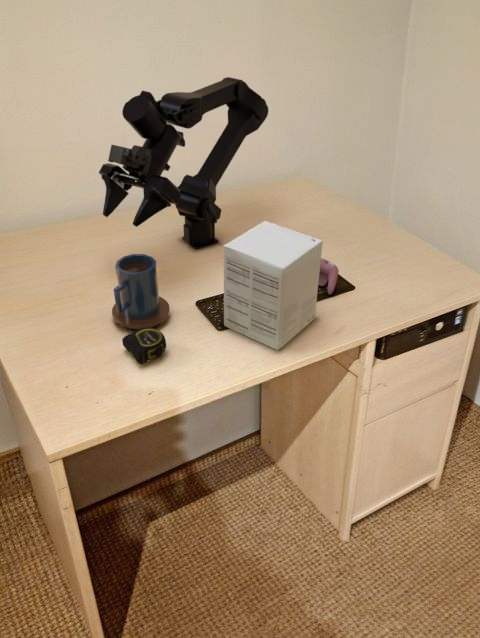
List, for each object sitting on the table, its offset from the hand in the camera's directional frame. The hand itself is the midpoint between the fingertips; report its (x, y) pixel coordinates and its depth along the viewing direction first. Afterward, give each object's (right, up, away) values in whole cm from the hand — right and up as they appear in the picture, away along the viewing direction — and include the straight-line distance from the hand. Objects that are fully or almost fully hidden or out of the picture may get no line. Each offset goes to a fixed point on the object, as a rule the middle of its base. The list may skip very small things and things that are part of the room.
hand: (119, 220), depth 120 cm
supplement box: (+29, -20, 0) cm, 36 cm away
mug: (+4, -18, -2) cm, 19 cm away
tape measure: (+7, -27, -10) cm, 29 cm away
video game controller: (+39, -12, +11) cm, 42 cm away
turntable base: (+4, -19, 0) cm, 20 cm away
